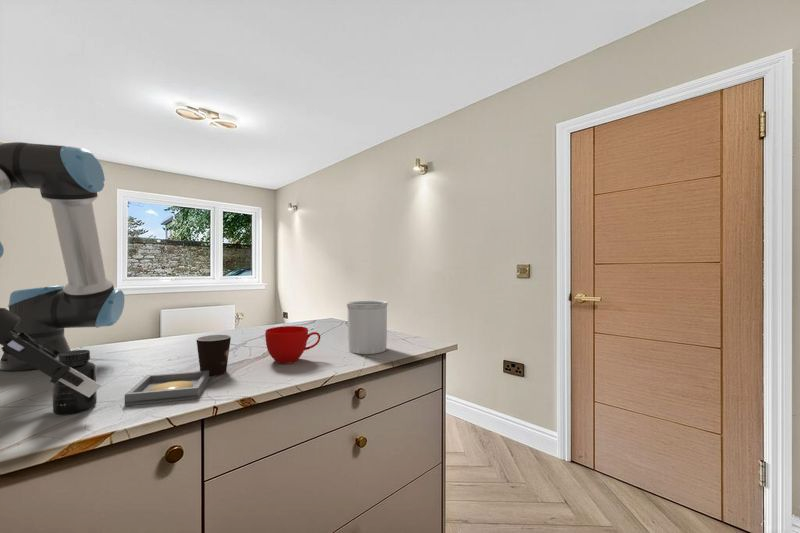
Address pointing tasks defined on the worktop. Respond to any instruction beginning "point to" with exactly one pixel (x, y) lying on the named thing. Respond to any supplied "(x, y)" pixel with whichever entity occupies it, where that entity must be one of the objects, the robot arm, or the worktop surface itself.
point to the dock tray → (167, 388)
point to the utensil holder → (367, 326)
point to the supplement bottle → (66, 396)
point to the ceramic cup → (288, 342)
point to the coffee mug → (213, 353)
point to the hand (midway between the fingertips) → (87, 383)
